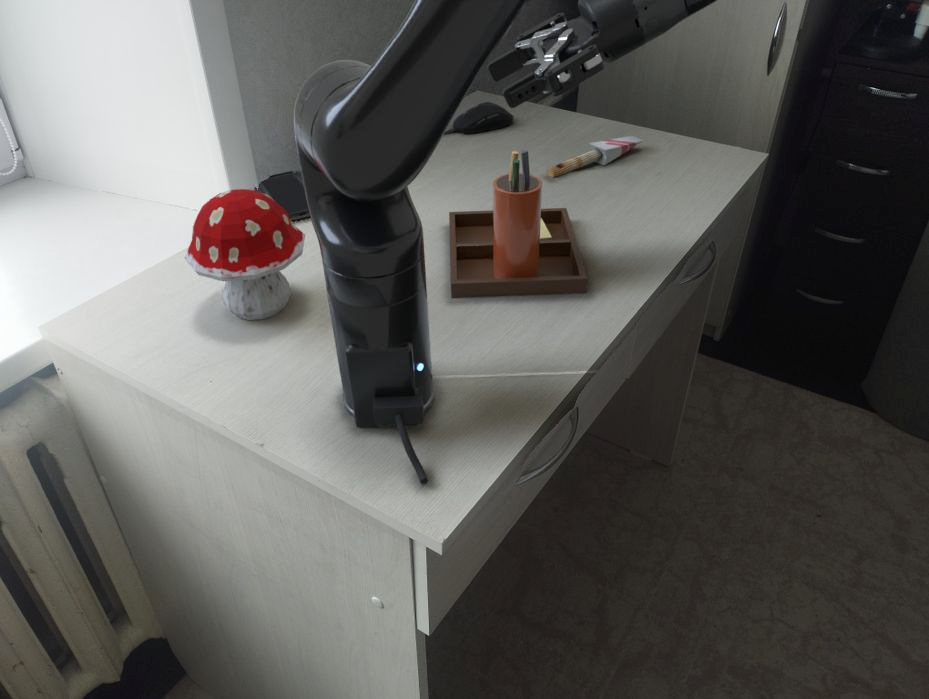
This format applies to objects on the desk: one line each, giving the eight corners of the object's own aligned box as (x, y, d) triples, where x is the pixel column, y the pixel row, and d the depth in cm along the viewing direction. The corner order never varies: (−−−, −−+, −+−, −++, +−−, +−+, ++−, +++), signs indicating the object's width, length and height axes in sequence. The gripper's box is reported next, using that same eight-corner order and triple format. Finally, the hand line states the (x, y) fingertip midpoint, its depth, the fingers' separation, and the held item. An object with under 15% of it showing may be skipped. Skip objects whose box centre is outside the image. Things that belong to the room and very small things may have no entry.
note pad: (551, 246, 101) (552, 237, 101) (508, 251, 101) (508, 241, 100) (540, 226, 106) (541, 216, 105) (499, 230, 106) (499, 221, 105)
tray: (586, 296, 93) (587, 278, 91) (451, 300, 92) (450, 283, 91) (565, 223, 108) (566, 207, 106) (449, 227, 108) (449, 211, 106)
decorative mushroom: (305, 267, 100) (286, 160, 91) (327, 323, 89) (308, 208, 80) (197, 289, 96) (165, 180, 87) (206, 350, 86) (172, 233, 76)
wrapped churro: (647, 133, 126) (557, 169, 117) (645, 148, 128) (557, 185, 119) (630, 126, 129) (541, 161, 120) (629, 141, 130) (541, 177, 122)
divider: (569, 255, 100) (570, 242, 98) (456, 259, 99) (456, 246, 98) (568, 252, 100) (569, 239, 99) (456, 256, 100) (456, 243, 99)
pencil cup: (540, 285, 94) (546, 161, 84) (494, 286, 94) (494, 163, 84) (536, 261, 98) (540, 141, 89) (491, 263, 98) (491, 143, 89)
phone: (298, 169, 122) (328, 205, 112) (299, 175, 123) (329, 211, 112) (250, 179, 120) (276, 217, 109) (252, 186, 120) (277, 224, 110)
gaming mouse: (432, 129, 139) (431, 107, 136) (502, 114, 144) (502, 93, 141) (447, 140, 134) (446, 118, 132) (519, 124, 139) (519, 103, 137)
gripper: (599, -38, 84) (471, 37, 87) (644, -7, 73) (496, 77, 75) (621, 24, 89) (498, 93, 91) (666, 61, 77) (525, 139, 80)
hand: (497, 86), depth 83 cm, fingers open, 8 cm apart
